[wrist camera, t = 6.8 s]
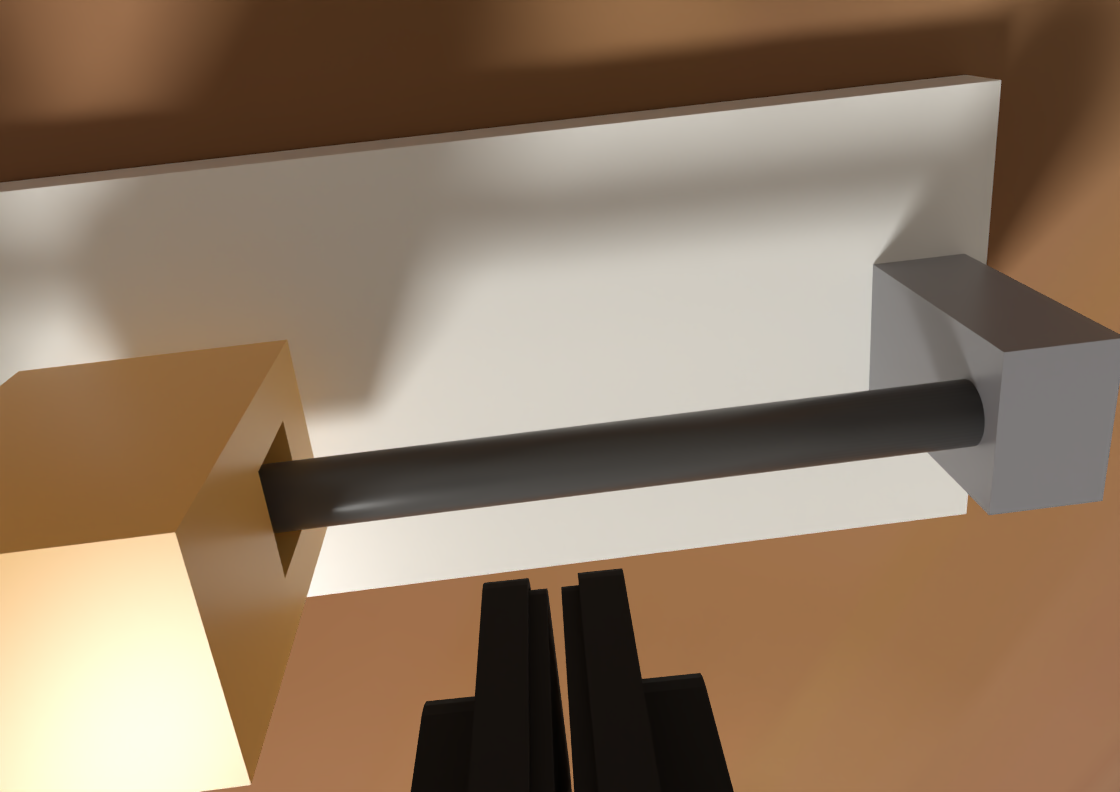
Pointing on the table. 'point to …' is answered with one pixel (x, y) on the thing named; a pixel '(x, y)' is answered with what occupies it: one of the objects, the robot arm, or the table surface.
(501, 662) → the robot arm
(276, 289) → the board
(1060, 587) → the table surface
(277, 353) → the sleeve
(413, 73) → the table surface
